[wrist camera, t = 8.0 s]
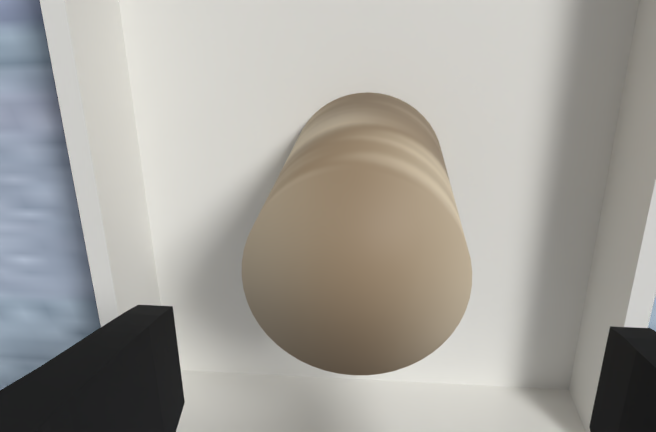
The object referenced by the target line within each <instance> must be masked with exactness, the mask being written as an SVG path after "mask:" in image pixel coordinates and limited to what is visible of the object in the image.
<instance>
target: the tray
mask: <svg viewBox="0 0 656 432" xmlns="http://www.w3.org/2000/svg"><path fill="white" fill-rule="evenodd" d="M40 5H41V10H42V15H43V21H44V26H45V31H46V37H47V42H48V47H49V53H50V58H51V63H52V69H53V74H54V79H55V85H56V90H57V95H58V101H59V106H60V111H61V117H62V122H63V127H64V133H65V138H66V143H67V149H68V154H69V159H70V165H71V170H72V176H73V181H74V186H75V192H76V197H77V202H78V208H79V213H80V218H81V224H82V229H83V234H84V240H85V245H86V250H87V256H88V261H89V266H90V272H91V277H92V282H93V288H94V293H95V298H96V304H97V309H98V314H99V320H100V325H101V327H102V326H104V325H105V324H107V323H109V322H110V321H112V320H113V319H115V318H116V317H118V316H120V315H121V314H123V313H124V312H126V311H128V310H130V309H131V308H133V307H135V306H137V305H156V306H173V313H174V321H175V329H176V337H177V345H178V353H179V361H180V369H181V376H182V384H183V392H184V400H185V403H184V406H183V410H182V413H181V416H180V420H179V423H178V426H177V429H176V432H590V428H589V426H590V421H591V416H592V411H593V406H594V401H595V397H596V392H597V387H598V382H599V377H600V372H601V368H602V363H603V358H604V353H605V348H606V343H607V339H608V334H609V329H610V326H613V327H634V328H648V324H649V320H650V316H651V312H652V307H653V303H654V299H655V294H656V0H40ZM366 92H370V93H380V94H385V95H390V96H392V97H395V98H398V99H400V100H402V101H404V102H406V103H408V104H409V105H411V106H412V107H414V108H415V109H416V110H417V111H419V112H420V113H421V114H422V115H423V116H424V117H425V119H426V120H427V121H428V122H429V123H430V125H431V127H432V128H433V130H434V131H435V134H436V136H437V138H438V140H439V144H440V147H441V151H442V154H443V158H444V162H445V166H446V169H447V173H448V177H449V180H450V184H451V188H452V191H453V195H454V199H455V203H456V206H457V210H458V214H459V217H460V221H461V225H462V228H463V232H464V236H465V240H466V243H467V247H468V251H469V254H470V258H471V266H472V288H471V294H470V299H469V302H468V305H467V308H466V311H465V313H464V315H463V317H462V319H461V321H460V323H459V325H458V326H457V327H456V329H455V330H454V332H453V333H452V335H451V336H450V337H449V338H448V339H447V340H446V341H445V342H444V343H443V344H442V345H441V346H440V347H439V348H438V349H436V350H435V351H434V352H433V353H431V354H430V355H428V356H427V357H425V358H424V359H422V360H420V361H418V362H416V363H414V364H412V365H410V366H408V367H405V368H402V369H399V370H396V371H392V372H388V373H383V374H375V375H346V374H338V373H333V372H329V371H325V370H322V369H319V368H316V367H313V366H311V365H308V364H306V363H304V362H302V361H300V360H298V359H297V358H295V357H293V356H292V355H290V354H288V353H287V352H286V351H284V350H283V349H282V348H280V347H279V346H278V345H277V344H276V343H275V342H274V341H273V340H272V339H271V338H270V337H269V336H268V335H267V334H266V333H265V332H264V330H263V329H262V328H261V327H260V325H259V324H258V322H257V320H256V319H255V317H254V316H253V314H252V312H251V309H250V307H249V305H248V303H247V300H246V296H245V293H244V289H243V282H242V258H243V251H244V247H245V244H246V241H247V238H248V235H249V233H250V231H251V229H252V227H253V225H254V223H255V221H256V219H257V217H258V215H259V213H260V211H261V209H262V207H263V205H264V203H265V201H266V200H267V198H268V196H269V194H270V192H271V190H272V188H273V186H274V184H275V182H276V180H277V178H278V176H279V174H280V172H281V170H282V168H283V166H284V164H285V162H286V160H287V159H288V157H289V155H290V153H291V151H292V149H293V147H294V145H295V143H296V141H297V139H298V137H299V135H300V133H301V131H302V129H303V128H304V126H305V125H306V123H307V122H308V120H309V119H310V118H311V117H312V116H313V115H314V114H315V113H316V112H317V111H318V110H319V109H321V108H322V107H323V106H325V105H326V104H328V103H329V102H331V101H333V100H336V99H338V98H340V97H343V96H346V95H350V94H355V93H366Z"/></svg>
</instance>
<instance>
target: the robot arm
mask: <svg viewBox="0 0 656 432" xmlns="http://www.w3.org/2000/svg"><path fill="white" fill-rule="evenodd" d="M184 403H185V400H184V392H183V384H182V376H181V369H180V361H179V353H178V345H177V337H176V329H175V321H174V313H173V306H156V305H137V306H135V307H133V308H131V309H130V310H128V311H126V312H124V313H123V314H121V315H120V316H118V317H116V318H115V319H113V320H112V321H110V322H109V323H107V324H105V325H104V326H102V327H101V328H99V329H98V330H96V331H95V332H93V333H92V334H90V335H89V336H87V337H86V338H84V339H83V340H81V341H79V342H78V343H76V344H75V345H73V346H72V347H70V348H69V349H67V350H65V351H64V352H62V353H61V354H59V355H58V356H56V357H55V358H53V359H52V360H50V361H48V362H47V363H45V364H44V365H42V366H41V367H39V368H37V369H36V370H34V371H32V372H31V373H29V374H27V375H26V376H24V377H22V378H21V379H19V380H17V381H16V382H14V383H12V384H10V385H9V386H7V387H5V388H4V389H2V390H0V432H176V429H177V426H178V423H179V420H180V416H181V413H182V410H183V406H184ZM589 428H590V432H656V332H655V331H654V330H652V329H650V328H634V327H613V326H610V329H609V334H608V339H607V343H606V348H605V353H604V358H603V363H602V368H601V372H600V377H599V382H598V387H597V392H596V397H595V401H594V406H593V411H592V416H591V421H590V426H589Z"/></svg>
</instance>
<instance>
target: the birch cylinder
mask: <svg viewBox="0 0 656 432" xmlns="http://www.w3.org/2000/svg"><path fill="white" fill-rule="evenodd" d="M242 282H243V289H244V293H245V296H246V300H247V303H248V305H249V307H250V309H251V312H252V314H253V316H254V317H255V319H256V320H257V322H258V324H259V325H260V327H261V328H262V329H263V330H264V332H265V333H266V334H267V335H268V336H269V337H270V338H271V339H272V340H273V341H274V342H275V343H276V344H277V345H278V346H279V347H280V348H282V349H283V350H284V351H286V352H287V353H288V354H290V355H292V356H293V357H295V358H297V359H298V360H300V361H302V362H304V363H306V364H308V365H311V366H313V367H316V368H319V369H322V370H325V371H329V372H333V373H338V374H346V375H375V374H383V373H388V372H392V371H396V370H399V369H402V368H405V367H408V366H410V365H412V364H414V363H416V362H418V361H420V360H422V359H424V358H425V357H427V356H428V355H430V354H431V353H433V352H434V351H435V350H436V349H438V348H439V347H440V346H441V345H442V344H443V343H444V342H445V341H446V340H447V339H448V338H449V337H450V336H451V335H452V333H453V332H454V330H455V329H456V327H457V326H458V325H459V323H460V321H461V319H462V317H463V315H464V313H465V311H466V308H467V305H468V302H469V299H470V294H471V288H472V266H471V258H470V254H469V251H468V247H467V243H466V240H465V236H464V232H463V228H462V225H461V221H460V217H459V214H458V210H457V206H456V203H455V199H454V195H453V191H452V188H451V184H450V180H449V177H448V173H447V169H446V166H445V162H444V158H443V154H442V151H441V147H440V144H439V140H438V138H437V136H436V134H435V131H434V130H433V128H432V127H431V125H430V123H429V122H428V121H427V120H426V119H425V117H424V116H423V115H422V114H421V113H420V112H419V111H417V110H416V109H415V108H414V107H412V106H411V105H409V104H408V103H406V102H404V101H402V100H400V99H398V98H395V97H392V96H390V95H385V94H380V93H370V92H366V93H355V94H350V95H346V96H343V97H340V98H338V99H336V100H333V101H331V102H329V103H328V104H326V105H325V106H323V107H322V108H321V109H319V110H318V111H317V112H316V113H315V114H314V115H313V116H312V117H311V118H310V119H309V120H308V122H307V123H306V125H305V126H304V128H303V129H302V131H301V133H300V135H299V137H298V139H297V141H296V143H295V145H294V147H293V149H292V151H291V153H290V155H289V157H288V159H287V160H286V162H285V164H284V166H283V168H282V170H281V172H280V174H279V176H278V178H277V180H276V182H275V184H274V186H273V188H272V190H271V192H270V194H269V196H268V198H267V200H266V201H265V203H264V205H263V207H262V209H261V211H260V213H259V215H258V217H257V219H256V221H255V223H254V225H253V227H252V229H251V231H250V233H249V235H248V238H247V241H246V244H245V247H244V251H243V258H242Z"/></svg>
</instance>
